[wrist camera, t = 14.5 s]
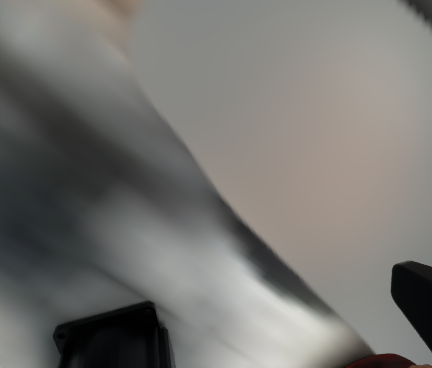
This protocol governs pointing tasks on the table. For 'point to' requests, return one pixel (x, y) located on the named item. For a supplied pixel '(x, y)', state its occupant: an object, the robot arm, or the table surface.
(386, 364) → the decorative planter
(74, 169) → the table surface
